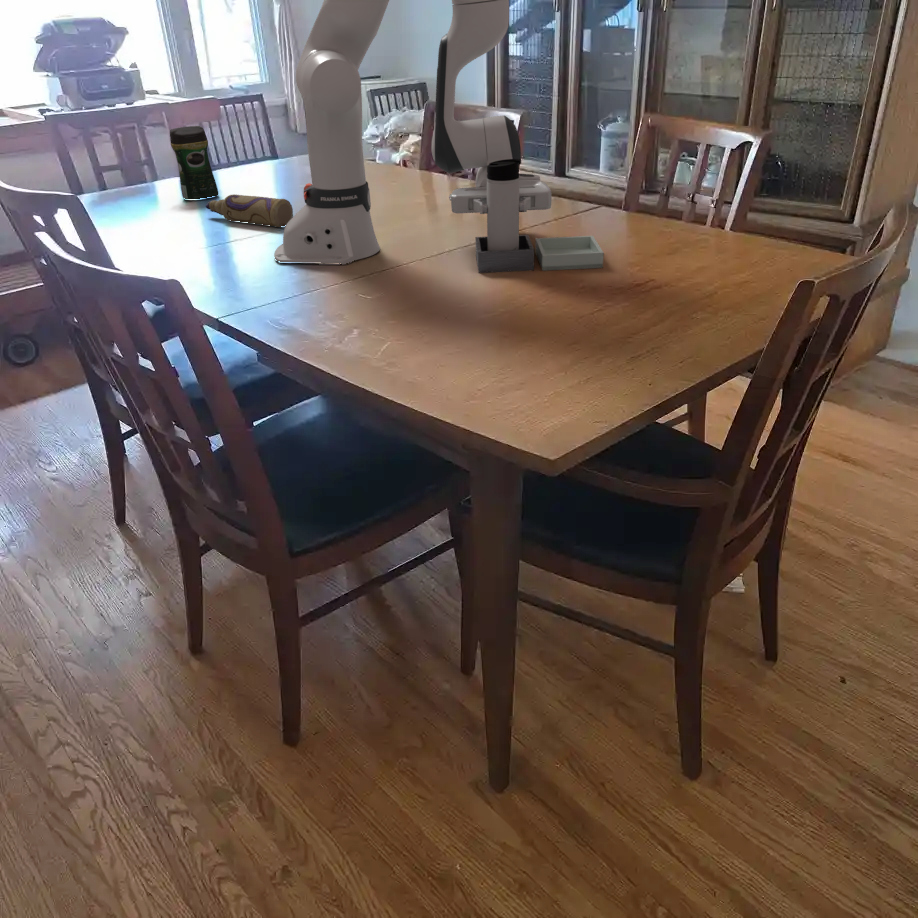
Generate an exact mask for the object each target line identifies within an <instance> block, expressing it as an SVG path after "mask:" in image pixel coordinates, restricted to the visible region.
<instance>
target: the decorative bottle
mask: <svg viewBox="0 0 918 918" xmlns="http://www.w3.org/2000/svg"><path fill="white" fill-rule="evenodd" d="M205 209H207V210H209V211H210V212H211V213H212V212H213V213H216V214H219V215H220V216H223V217H224V219H225V220H227V221H228V220H231V221H240V222H248V223H255V224H263V225H262V226H264V225H270V226H276V227H275V228H277V227H281V226H285V225H286V224H287V223H288V222H289V221H290V220H291V219H292V218H293V217H294V211H293V209H294V208H293V205H292V204H291V202H290V201H289V200H288V199H286V198H273V197H269V196H256V195H244V194H229V195H227V196H226V197H225V198H224V199H222V198H221V199H218V200H210V201H208V202H206V205H205ZM231 221H230V222H231ZM255 224H254V225H255ZM270 226H269V227H270Z"/></svg>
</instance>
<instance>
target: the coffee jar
mask: <svg viewBox="0 0 918 918" xmlns="http://www.w3.org/2000/svg"><path fill="white" fill-rule="evenodd" d="M169 137H170V138H169V139H170V146H171V148H172V150H173V152H174V153H175V154H174V155H175V157H176V161H177V167H178V173H179V174H178V175H179V182H180V191H181V196H182V198H183V199H184V198H185V199H200V198H207V197H212V196H216V197H218V196H219V194H220V193H219V190H218V186H217V182H216V178H215V175H214V173H213V170H212V166H211V163H210V159H209V153H208V146H209V140H208V137H207V134H206V131H205V130H204V127H202V126H200V125H190V126H182V127H181V126H180V127H177V128H171V129H169ZM217 195H218V196H217ZM185 199H184V200H185Z"/></svg>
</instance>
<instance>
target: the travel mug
mask: <svg viewBox="0 0 918 918" xmlns="http://www.w3.org/2000/svg"><path fill="white" fill-rule="evenodd" d="M521 164H522V158H521V159H506V160H499V161H495V162H491V163H489V165H488V166H487V173H488V174H487V211H488V213H487V214H486V220H487V221H486V222H487V224H486V226H487V228H486V229H487V231H486V232H487V233H486V234H487V236H486V237H487V243H488V251H504V250H519V235H520V212H519V173H520V165H521Z"/></svg>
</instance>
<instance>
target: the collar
mask: <svg viewBox="0 0 918 918" xmlns="http://www.w3.org/2000/svg"><path fill="white" fill-rule="evenodd" d="M474 238H475V239H474V240H475V241H474V243H475V258H476V265H477V271H478V274H483V273H484V274H485V273H486V274H487V273H503V272H505V273H506V272H507V273H508V272H525V271H526V272H527V271H528V272H529V271H535V248H534V247H533V243H532V241H531V238H530V236H529V234H519V250H504V251H488V243H487V236H476V237H474Z"/></svg>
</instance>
